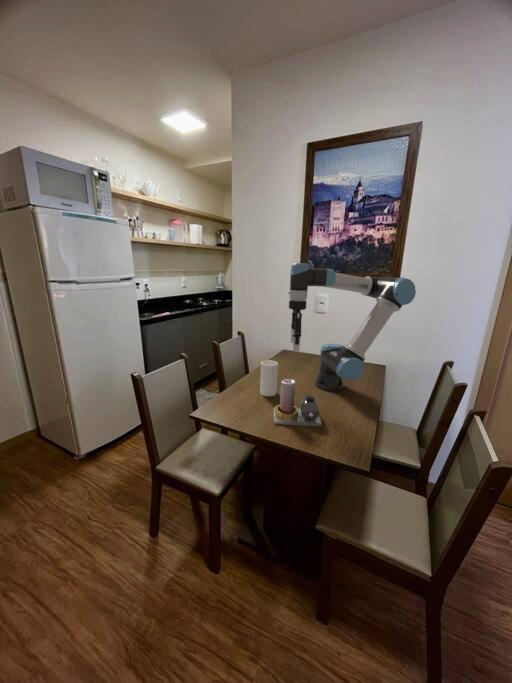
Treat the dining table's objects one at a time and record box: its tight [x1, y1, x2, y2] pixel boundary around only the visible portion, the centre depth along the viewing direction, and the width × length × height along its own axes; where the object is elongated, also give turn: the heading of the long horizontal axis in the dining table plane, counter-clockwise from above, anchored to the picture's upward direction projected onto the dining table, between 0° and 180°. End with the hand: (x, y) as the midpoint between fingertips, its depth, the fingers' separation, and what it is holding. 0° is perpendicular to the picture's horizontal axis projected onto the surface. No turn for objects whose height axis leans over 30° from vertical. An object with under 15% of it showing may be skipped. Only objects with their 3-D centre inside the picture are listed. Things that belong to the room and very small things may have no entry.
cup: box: [259, 359, 279, 397], centre depth 138 cm, size 8×8×16 cm
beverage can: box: [279, 378, 297, 414], centre depth 115 cm, size 6×6×15 cm
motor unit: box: [273, 395, 322, 427], centre depth 115 cm, size 19×12×10 cm, turn 87°
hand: (294, 346), depth 126 cm, fingers open, 13 cm apart
